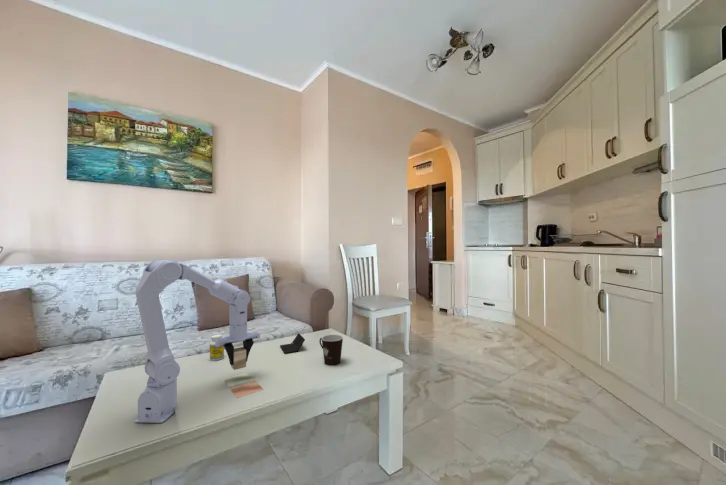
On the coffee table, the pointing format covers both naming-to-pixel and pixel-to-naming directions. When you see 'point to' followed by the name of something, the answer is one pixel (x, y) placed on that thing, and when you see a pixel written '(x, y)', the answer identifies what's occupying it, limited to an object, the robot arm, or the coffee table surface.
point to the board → (242, 389)
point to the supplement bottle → (216, 349)
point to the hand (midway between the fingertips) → (238, 362)
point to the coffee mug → (332, 349)
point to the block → (239, 358)
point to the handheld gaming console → (293, 345)
